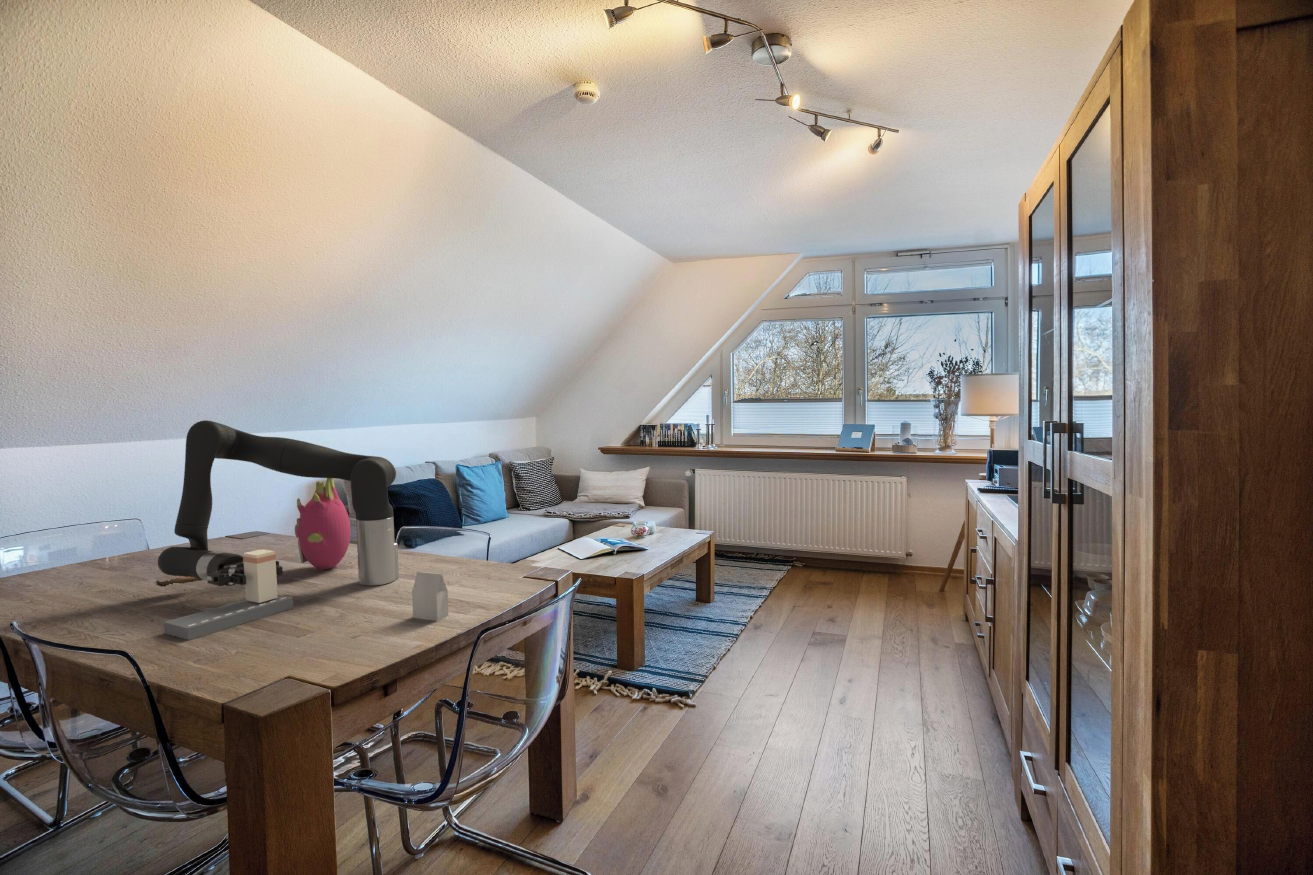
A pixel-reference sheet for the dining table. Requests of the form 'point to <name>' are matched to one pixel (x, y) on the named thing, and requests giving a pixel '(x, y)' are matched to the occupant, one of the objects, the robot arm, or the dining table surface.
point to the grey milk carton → (429, 597)
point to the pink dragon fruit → (323, 527)
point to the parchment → (178, 581)
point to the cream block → (260, 575)
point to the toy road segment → (225, 617)
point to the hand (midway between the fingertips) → (263, 575)
